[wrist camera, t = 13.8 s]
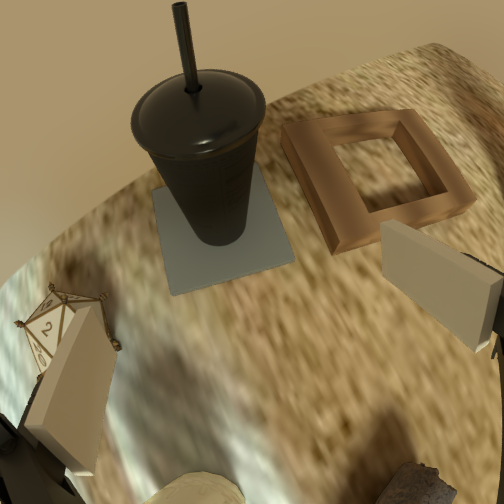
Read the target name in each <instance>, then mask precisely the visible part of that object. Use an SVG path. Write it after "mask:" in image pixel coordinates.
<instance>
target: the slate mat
mask: <svg viewBox="0 0 504 504" xmlns="http://www.w3.org/2000/svg"><path fill="white" fill-rule="evenodd" d="M152 197H153V203H154V210H155V216H156V222H157V228H158V233H159V239H160V244H161V250H162V255H163V260H164V265H165V270H166V275H167V280H168V285H169V289H170V294H171V295H172V296H176V295H180V294H183V293H187V292H190V291H194V290H198V289H201V288H205V287H208V286H212V285H215V284H219V283H223V282H226V281H230V280H233V279H237V278H240V277H244V276H247V275H251V274H254V273H257V272H261V271H264V270H268V269H271V268H275V267H278V266H281V265H285V264H288V263H292V262H294V261H295V256H294V254H293V251H292V248H291V246H290V243H289V241H288V238H287V235H286V233H285V230H284V228H283V225H282V223H281V220H280V218H279V215H278V213H277V210H276V208H275V205H274V203H273V200H272V198H271V195H270V193H269V190H268V188H267V185H266V183H265V180H264V178H263V175H262V173H261V171H260V168H259V166H258V163H257V162H255V163H254V166H253V174H252V182H251V189H250V197H249V205H248V213H247V221H246V227H245V230H244V232H243V234H242V235H241V236H240V237H239V238H238V239H237V240H236V241H235V242H233V243H231V244H229V245H225V246H211V245H208V244H206V243H204V242H202V241H201V240H200V239H199V238H198V237H197V236H196V234H195V232H194V231H193V229H192V227H191V226H190V224H189V222H188V221H187V219H186V217H185V216H184V214H183V212H182V210H181V209H180V207H179V205H178V204H177V202H176V200H175V199H174V197H173V195H172V193H171V192H170V190H169V188H168V187H167V186H164V187H161V188H158V189H154V190H152Z"/></svg>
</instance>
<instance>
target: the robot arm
mask: <svg viewBox="0 0 504 504" xmlns="http://www.w3.org/2000/svg"><path fill="white" fill-rule="evenodd" d="M380 231H381V247H382V271H383V277H384V278H386V279H387V280H388V281H390V282H391V283H392V284H393V285H395V286H396V287H397V288H398V289H400V290H401V291H402V292H403V293H405V294H406V295H407V296H408V297H409V298H411V299H412V300H413V301H414V302H416V303H417V304H418V305H419V306H421V307H422V308H423V309H424V310H425V311H427V312H428V313H429V314H430V315H431V316H433V317H434V318H435V319H436V320H437V321H439V322H440V323H441V324H442V325H443V326H444V327H446V328H447V329H448V330H449V331H450V332H451V333H453V334H454V335H455V336H456V337H457V338H458V339H459V340H461V341H462V342H463V343H464V344H465V345H466V346H467V347H469V348H470V349H471V350H472V351H473V352H474V353H476V352H478V351H479V350H481V349H482V348H483V347H485V346H486V345H488V344H489V340H490V337H491V333H492V330H493V331H494V332H495V333H497V334H498V336H497V339H496V343H495V346H494V349H493V352H492V356H491V359H494V357H495V354H496V352H497V354H498V358H497V359H498V362H499V371H500V382H501V397H502V456H501V470H500V481H499V489H498V497H497V503H496V504H504V273H502V272H500V271H499V270H497V269H495V268H493V267H491V266H490V265H486V263H484V262H483V261H479V259H477V258H475V257H473V256H472V255H470V254H466V253H462V252H459V251H457V250H455V249H453V248H451V247H449V246H447V245H445V244H443V243H442V242H440V241H438V240H436V239H434V238H432V237H430V236H428V235H426V234H424V233H422V232H420V231H418V230H416V229H413V228H411V227H409V226H407V225H405V224H403V223H401V222H399V221H397V220H395V219H391V220H388V221H384V222H381V223H380ZM116 359H117V353H116V351H115V350H114V348H113V346H112V344H111V343H110V341H109V339H108V337H107V335H106V333H105V331H104V330H103V328H102V326H101V324H100V322H99V320H98V318H97V316H96V314H95V312H94V310H93V308H92V306H89V307H85V308H81V309H78V310H77V311H76V313H75V315H74V317H73V318H72V320H71V322H70V324H69V326H68V328H67V330H66V332H65V334H64V336H63V338H62V340H61V342H60V344H59V346H58V348H57V350H56V352H55V354H54V356H53V358H52V360H51V362H50V364H49V367H48V369H47V371H46V373H45V375H44V376H43V377H42V378H41V379H40V380H39V381H38V383H37V384H36V385H35V387H34V389H33V392H32V394H31V397H30V399H29V401H28V405H27V406H26V408H25V411H24V413H23V415H22V418H21V420H20V423H19V426H18V428H17V429H16V428H15V427H14V426H13V425H12V423H11V422H10V421H9V420H8V419H7V418H6V417H5V415H4V414H1V413H0V501H1V504H86V503H85V502H84V500H83V499H82V497H81V496H80V494H79V493H78V491H77V490H76V488H75V487H74V485H73V484H72V482H71V481H70V479H69V478H68V477H66V476H65V475H64V474H65V469H66V467H67V468H68V469H69V470H70V471H71V472H73V473H74V474H75V475H76V476H94V475H95V468H96V461H97V454H98V447H99V441H100V435H101V430H102V424H103V419H104V413H105V408H106V403H107V398H108V394H109V389H110V384H111V380H112V376H113V371H114V367H115V363H116Z"/></svg>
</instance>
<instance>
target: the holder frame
mask: <svg viewBox="0 0 504 504" xmlns="http://www.w3.org/2000/svg"><path fill="white" fill-rule="evenodd" d="M386 137H393V139H394V140H395V142H396V143H397V145H398V146H399V147H400V149H401V150H402V152H403V153H404V155H405V156H406V158H407V159H408V161H409V162H410V164H411V166H412V167H413V169H414V170H415V172H416V173H417V175H418V177H419V178H420V180H421V182H422V183H423V185H424V186H425V188H426V190H427V192H428V193H429V195H430V197H428V198H424V199H420V200H416V201H413V202H409V203H405V204H402V205H398V206H394V207H391V208H387V209H383V210H380V211H376V212H372V213H369V212H368V210H367V208H366V206H365V204H364V202H363V201H362V199H361V197H360V195H359V193H358V191H357V189H356V187H355V186H354V184H353V182H352V180H351V178H350V177H349V175H348V173H347V171H346V169H345V168H344V166H343V164H342V162H341V161H340V159H339V157H338V156H337V154H336V152H335V150H334V149H333V147H332V146H335V145H340V144H346V143H352V142H359V141H365V140H372V139H379V138H386ZM280 144H281V146H282V148H283V150H284V152H285V154H286V156H287V158H288V160H289V162H290V164H291V166H292V168H293V170H294V172H295V174H296V176H297V179H298V181H299V183H300V185H301V187H302V189H303V191H304V193H305V196H306V198H307V200H308V202H309V204H310V207H311V209H312V211H313V213H314V215H315V218H316V220H317V222H318V224H319V227H320V229H321V231H322V234H323V236H324V238H325V241H326V243H327V245H328V248H329V250H330V252H331V255H332V256H333V255H337V254H340V253H343V252H346V251H349V250H353V249H356V248H359V247H362V246H365V245H368V244H372V243H375V242H378V241H381V231H380V223H381V222H384V221H388V220H391V219H395V220H397V221H399V222H401V223H403V224H405V225H407V226H409V227H411V228H413V229H418V228H421V227H424V226H427V225H430V224H433V223H436V222H439V221H442V220H445V219H448V218H451V217H454V216H457V215H459V214H462V213H464V212H465V211H466V210H467V209H468V208H469V207H470V206H471V205H472V204H473V203H474V202H475V201H476V200H477V199H476V197H475V195H474V194H473V192H472V190H471V189H470V187H469V185H468V184H467V182H466V180H465V179H464V177H463V176H462V174H461V173H460V171H459V169H458V168H457V166H456V165H455V163H454V162H453V160H452V159H451V157H450V156H449V155H448V153H447V152H446V150H445V149H444V147H443V146H442V145H441V143H440V142H439V140H438V139H437V138H436V136H435V135H434V134H433V132H432V131H431V130H430V128H429V127H428V126H427V125H426V123H425V122H424V121H423V119H422V118H421V117H420V116H419V114H418V113H417V112H416V111H415V110H414V109H403V110H389V111H377V112H366V113H357V114H348V115H340V116H332V117H325V118H318V119H312V120H305V121H299V122H293V123H287V124H282V133H281V143H280Z"/></svg>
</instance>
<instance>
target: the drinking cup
mask: <svg viewBox="0 0 504 504" xmlns="http://www.w3.org/2000/svg"><path fill="white" fill-rule="evenodd" d="M172 11H173V18H174V23H175V29H176V34H177V40H178V45H179V51H180V56H181V61H182V67H183V72H184V73H182V74H178V75H175V76H173V77H170V78H168V79H166V80H164V81H162V82H160V83H159V84H157V85H155V86H154V87H153V88H151V89H150V90H149V91H148V92H147V93H145V94H144V96H142V98H141V99H140V100H139V101H138V103H137V104H136V106H135V108H134V110H133V113H132V117H131V130H132V133H133V135H134V138H135V140H136V141H137V143H138V144H139V145H140V146H141V147H142V148H143V149H144V150H146V151H147V152H148V153H149V155H150V157H151V158H152V160H153V162H154V164H155V166H156V167H157V169H158V171H159V173H160V174H161V176H162V178H163V180H164V181H165V183H166V185H167V187H168V188H169V190H170V192H171V193H172V195H173V197H174V199H175V200H176V202H177V204H178V205H179V207H180V209H181V210H182V212H183V214H184V216H185V217H186V219H187V221H188V222H189V224H190V226H191V227H192V229H193V231H194V232H195V234H196V236H197V237H198V238H199V239H200V240H201V241H202V242H204V243H206V244H208V245H211V246H225V245H229V244H231V243H233V242H235V241H236V240H237V239H238V238H239V237H240V236H241V235H242V234H243V232H244V230H245V227H246V221H247V213H248V205H249V197H250V189H251V182H252V174H253V166H254V159H255V151H256V144H257V136H258V129H259V127H260V125H261V124H262V122H263V120H264V116H265V110H266V102H265V98H264V95H263V93H262V91H261V90H260V88H259V87H258V86H257V85H256V84H255V83H254V82H253V81H252V80H250V79H248V78H247V77H245V76H243V75H240V74H238V73H234V72H230V71H226V70H217V69H216V70H215V69H205V70H197V69H196V62H195V55H194V50H193V43H192V35H191V28H190V22H189V15H188V8H187V2H177V3H174V4H172Z"/></svg>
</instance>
